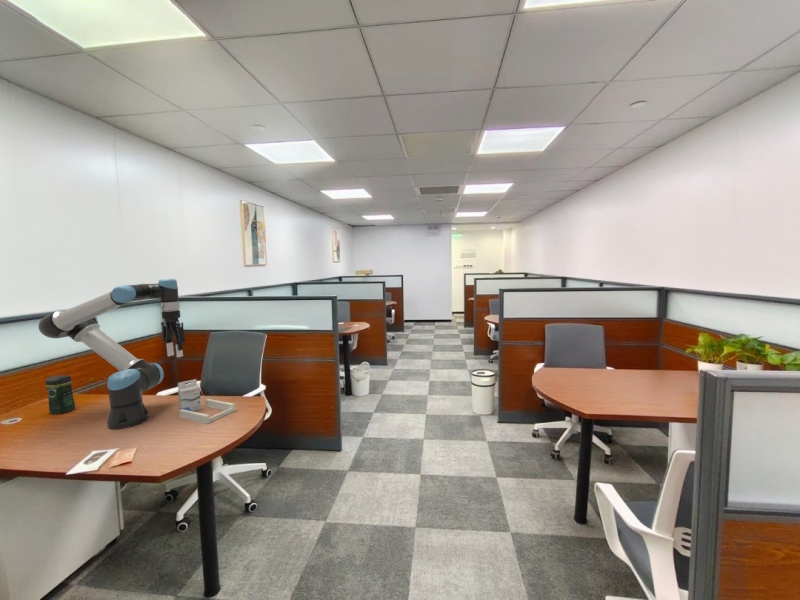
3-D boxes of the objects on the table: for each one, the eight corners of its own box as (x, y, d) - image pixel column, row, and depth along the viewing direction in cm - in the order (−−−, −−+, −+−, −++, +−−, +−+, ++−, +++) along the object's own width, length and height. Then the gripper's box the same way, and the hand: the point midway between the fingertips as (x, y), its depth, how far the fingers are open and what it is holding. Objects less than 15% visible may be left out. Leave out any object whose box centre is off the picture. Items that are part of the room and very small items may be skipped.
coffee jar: (79, 408, 177) (74, 373, 175) (61, 414, 169) (56, 378, 167) (63, 407, 178) (59, 373, 177) (46, 414, 171) (40, 378, 169)
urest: (179, 417, 161) (179, 410, 161) (208, 405, 175) (208, 398, 174) (207, 423, 153) (206, 416, 153) (235, 410, 167) (234, 403, 167)
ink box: (182, 414, 164) (179, 385, 163) (179, 411, 168) (176, 382, 167) (201, 409, 170) (199, 380, 169) (199, 406, 174) (196, 378, 173)
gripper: (150, 310, 168) (155, 356, 170) (175, 311, 160) (180, 359, 162) (166, 309, 175) (170, 352, 177) (191, 309, 167) (195, 355, 169)
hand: (175, 356), depth 170 cm, fingers open, 6 cm apart
